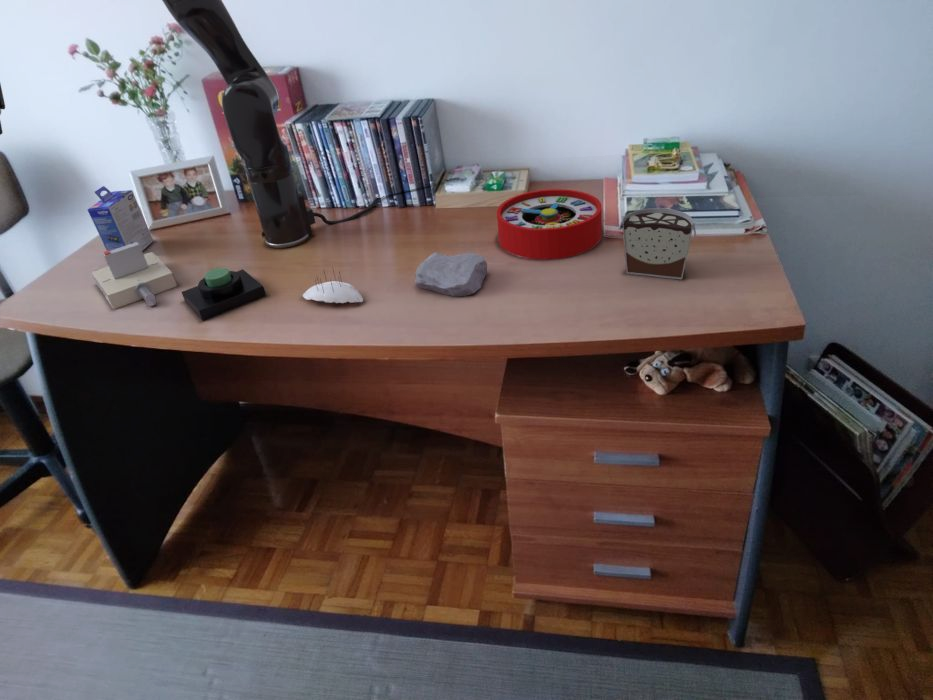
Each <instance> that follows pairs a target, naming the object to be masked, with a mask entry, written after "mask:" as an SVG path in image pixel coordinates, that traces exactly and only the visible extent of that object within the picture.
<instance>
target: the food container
mask: <svg viewBox="0 0 933 700" xmlns="http://www.w3.org/2000/svg"><path fill="white" fill-rule="evenodd" d="M621 230H622V235H623V237H622V238H623V248H624V259H625V270H626V271H625V272H626V274H628V275H636V276H646V277H654V278H664V279H673V280H683V277H684V273H685V268H686V264H687V258H688V253H689V248H690V244H691V239H692V234H693V235H694V238H695V237H697V232H696V231H697V230H696V224H695V222H694V219H693V218H692V216H691V215H689V214H688V213H686V212H683V211H681V210H677V209H672V208H665V207H664V208H663V207H652V208H643V209H638V210H635V211H632V212H630V213H628V214H626V215H625V216H624V217H622V220H621V221H620V224H619V228H618V231H621Z"/></svg>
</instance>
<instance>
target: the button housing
mask: <svg viewBox="0 0 933 700" xmlns="http://www.w3.org/2000/svg"><path fill="white" fill-rule="evenodd" d="M229 272H230V275H231V278H232V280H231V281H230V282H228V283H227V284H224V285H221V286H216V287H208V286H207V283H206V280H205V278H204V277H203V278H202V279H200V280H199V282H198V284H197V285H196V286H193V287H191V288H188V289H185V290H183V291H181V295H182V298H183V300H184V302H185V304H187V306H188V307H189V308H190V309H191V310H192V312H194V313H195V314H196V316H197V317H198V318H200V320H201V321H202V322H205V321H208V320H209V319H212V318H215V317H217V316H220V315H222V314H225V313H228V312H229V311H233V310H235V309H237V308H240V307H242V306H245V305H248V304H250V303H253V302H255V301H258V300H261V299H262V298H265V297H267V293H266V290H265V288H264V285H263V284H262V283H260V281H258V280H256V279H255V278H254V277H253V276H252V275H250V274H249V272H247V271H246V270H245V269H244V268H243V269H239V270H236V271H235V270H229Z"/></svg>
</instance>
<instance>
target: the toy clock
mask: <svg viewBox="0 0 933 700" xmlns="http://www.w3.org/2000/svg"><path fill="white" fill-rule="evenodd" d="M602 211H603V207H602V202H601V201H600V200H599V198H598V197H596V196H594V195H592V194H590V193H588V192H584V191H580V190H574V189H563V188H550V189H539V190H533V191H528V192H524V193H520V194H517V195H515V196H512V197H510V198H508V199H506V200H505V201H504V202H502V203H500V205H499V206H498V207H497V210H496V221H497V234H498V243H499V245H500V247H501V248H502V249H503V250H504V251H505V252H507V253H508V254H511V255H514V256H516V257H520V258H524V259H530V260H558V259H559V260H560V259H566V258H570V257H574V256H577V255H580V254H583V253H586V252H588V251H590V250H591V249H593V248H595V247H596V246H597V245H598V244H599V243H600V242H601V239H602V234H603V233H602V232H603V231H602V229H603V228H602V227H603V226H602V225H603V224H602V223H603V219H602V217H603V212H602Z"/></svg>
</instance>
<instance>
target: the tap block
mask: <svg viewBox="0 0 933 700" xmlns="http://www.w3.org/2000/svg"><path fill="white" fill-rule="evenodd" d="M143 255H144V257H145V259H146V262H147V264H148V267H149V268H146V269H143V270H140V271H137V272H134V273H132V274H129V275H126V276H123V277H120V278H117V279H114V278H113V276H112V274H111V272H110V269H109V267H108V266H105V267H102V268H99V269H97V270H93V271H91V275H92V277H93V280H94V282H95V284H96V286H97V287H98V289H99V290H100V291H101V293H102V294H103V296H104V297H105V299H106V301H107V302H108V303H109V305H110V306H111V308H112V309H113V310H115V309H118V308H122V307H124V306H127V305H129V304H132V303H135V302H137V301H140V300H144V298H143V297H139V296H138V295H137V294H136V292H135V287H136V285H137V284H139V283H142V282H144V283H147V284H149V285H150V287H151V289H152V291H151V292H152V293H153V294H154V295H157V294H159V293H162V292H165V291H168V290H170V289H174V288H176V287H178V285H177V281H176V278H175V277H174V273H173V272H172V271H171V270H170V269H169V268H168V267H167V265H165V264H164V263H163V261H162V260H161V259H159V258H158V256H157V255H156V254H155V253H154V252H152V251H150V252H147V253H143Z"/></svg>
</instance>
